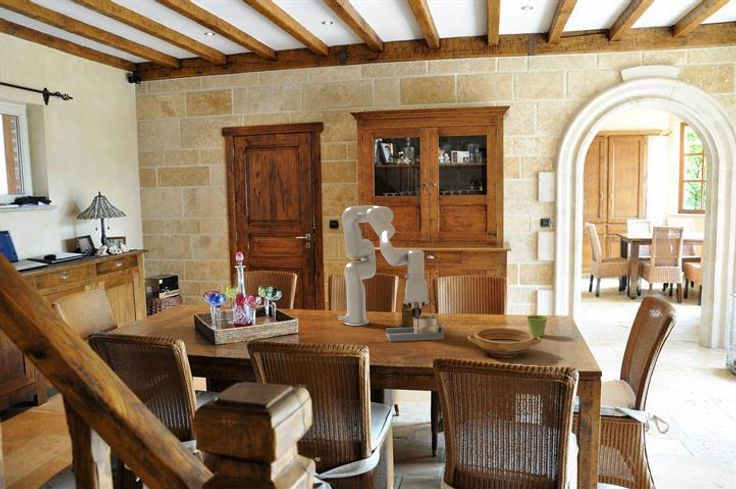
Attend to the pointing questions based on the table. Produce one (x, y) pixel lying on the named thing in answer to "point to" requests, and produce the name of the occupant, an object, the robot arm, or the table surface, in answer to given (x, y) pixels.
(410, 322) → the condiment
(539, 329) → the plant pot
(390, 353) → the table surface
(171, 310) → the table surface
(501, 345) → the ceramic bowl
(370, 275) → the robot arm
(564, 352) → the table surface
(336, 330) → the table surface
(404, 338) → the bay
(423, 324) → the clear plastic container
